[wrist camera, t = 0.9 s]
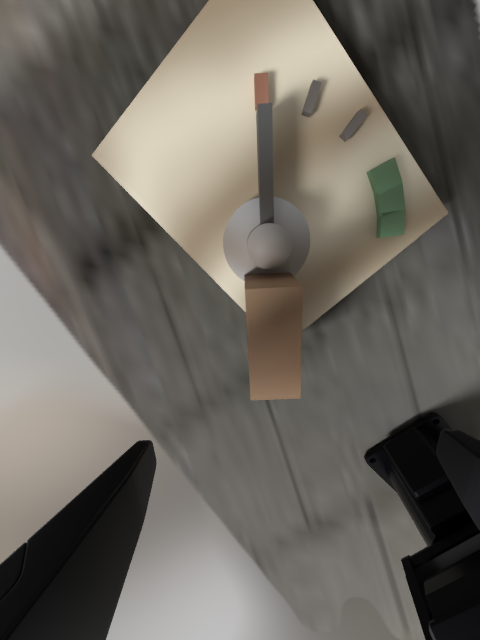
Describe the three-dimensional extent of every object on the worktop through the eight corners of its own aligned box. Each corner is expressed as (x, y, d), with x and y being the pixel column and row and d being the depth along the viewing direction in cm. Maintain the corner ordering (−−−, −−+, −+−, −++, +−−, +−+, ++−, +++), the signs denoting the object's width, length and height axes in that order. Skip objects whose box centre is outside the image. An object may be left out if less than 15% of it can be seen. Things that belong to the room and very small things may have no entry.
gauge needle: (214, 120, 13) (203, 78, 9) (309, 114, 13) (339, 68, 9) (232, 361, 17) (229, 401, 13) (303, 358, 17) (321, 397, 13)
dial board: (430, 213, 16) (455, 213, 14) (278, 338, 18) (282, 351, 17) (262, -41, 12) (266, -88, 10) (105, 161, 15) (86, 153, 13)
